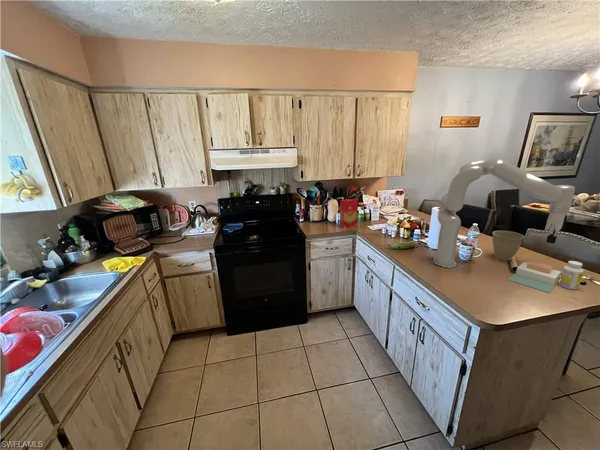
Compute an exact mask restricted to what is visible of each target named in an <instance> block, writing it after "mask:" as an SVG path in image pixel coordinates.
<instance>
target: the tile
mask: <svg viewBox="0 0 600 450" xmlns="http://www.w3.org/2000/svg"><path fill="white" fill-rule="evenodd" d="M527 263H528V264H527V268H529V269H533V270H536V271H540V272H544V273H547V274H550V273H551V272H552V270H554V266H553V265H550V264H548V263H547V264H546V263H542V262H538V261H535V260H530V261H528V262H527Z"/></svg>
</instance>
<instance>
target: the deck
mask: <svg viewBox="0 0 600 450" xmlns="http://www.w3.org/2000/svg"><path fill="white" fill-rule="evenodd" d="M528 263H529V262H526V261H524V262H523V263H521V264H520V265H519V266H518V267H517V268H516V271H515V274H517V275H521V276H524V277H527V278H531V279H534V280H538V281H541V282H544V283H548V284H551V285H555V284H557V282H558V281H559V280H560V278H561V275H562V271H560V270H556V269H553V270H552V272H551V273H550V274H547V273H544V272H540V271H536V270H533V269H529V268H527V264H528Z"/></svg>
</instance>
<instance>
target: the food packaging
mask: <svg viewBox="0 0 600 450" xmlns="http://www.w3.org/2000/svg"><path fill="white" fill-rule="evenodd" d="M339 201H340V203H339V204H340V205H339V226H341V227H342V229H345V228H344V227H348V228H351V227H350V226H354V227H357V226H358V199H356V198H351V199H341V200H339ZM341 227H340V228H341Z"/></svg>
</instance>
